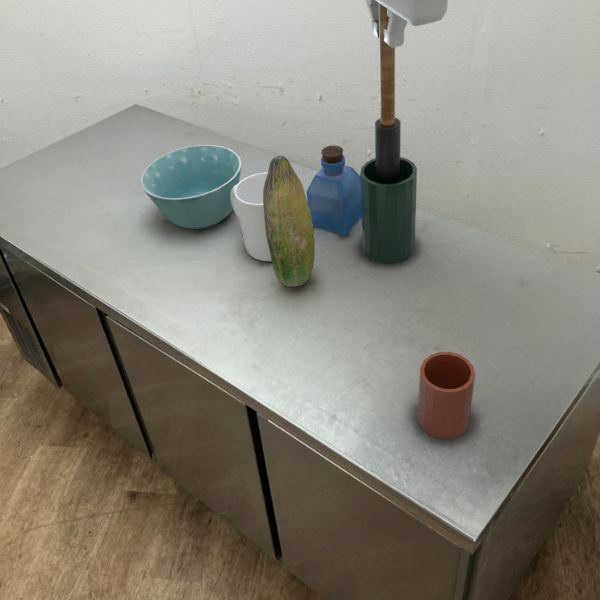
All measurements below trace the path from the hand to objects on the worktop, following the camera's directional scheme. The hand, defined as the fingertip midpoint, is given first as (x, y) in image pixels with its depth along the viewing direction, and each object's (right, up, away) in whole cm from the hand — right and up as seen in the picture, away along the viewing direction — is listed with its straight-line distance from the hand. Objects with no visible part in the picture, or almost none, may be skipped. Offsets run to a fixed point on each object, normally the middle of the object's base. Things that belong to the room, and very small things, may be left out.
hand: (387, 40), depth 74 cm
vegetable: (-10, -28, +16) cm, 34 cm away
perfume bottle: (-4, -17, +27) cm, 32 cm away
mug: (-15, -21, +25) cm, 36 cm away
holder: (+6, -43, -3) cm, 43 cm away
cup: (+3, -22, +20) cm, 30 cm away
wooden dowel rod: (+2, -13, +12) cm, 17 cm away
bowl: (-26, -16, +32) cm, 44 cm away
